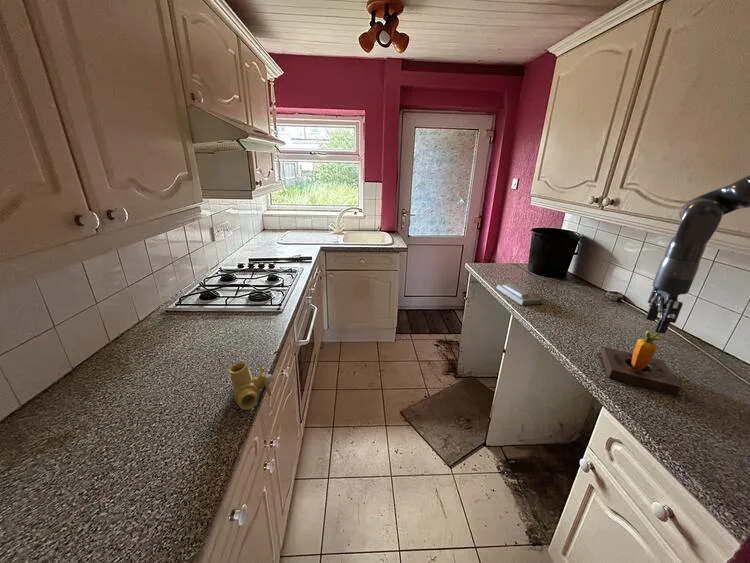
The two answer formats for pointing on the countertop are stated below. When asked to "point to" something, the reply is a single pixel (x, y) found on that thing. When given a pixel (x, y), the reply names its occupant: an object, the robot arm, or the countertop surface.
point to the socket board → (649, 377)
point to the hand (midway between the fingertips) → (654, 325)
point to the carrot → (644, 351)
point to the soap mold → (518, 294)
